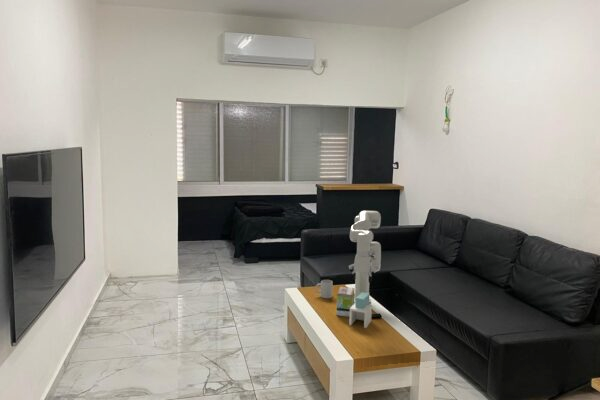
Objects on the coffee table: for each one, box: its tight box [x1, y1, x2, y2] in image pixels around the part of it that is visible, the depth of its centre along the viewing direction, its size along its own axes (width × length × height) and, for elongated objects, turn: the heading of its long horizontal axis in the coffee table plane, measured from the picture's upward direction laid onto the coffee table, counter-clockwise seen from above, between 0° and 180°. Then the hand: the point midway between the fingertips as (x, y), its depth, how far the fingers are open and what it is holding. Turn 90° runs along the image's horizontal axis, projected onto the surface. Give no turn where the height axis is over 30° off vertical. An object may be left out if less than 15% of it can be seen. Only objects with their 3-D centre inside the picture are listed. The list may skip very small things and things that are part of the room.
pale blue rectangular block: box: [355, 292, 370, 309], centre depth 283 cm, size 12×5×6 cm, turn 155°
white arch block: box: [348, 302, 373, 329], centre depth 281 cm, size 12×10×10 cm
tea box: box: [335, 286, 355, 317], centre depth 299 cm, size 15×10×15 cm
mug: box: [315, 279, 334, 299], centre depth 328 cm, size 12×8×11 cm
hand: (362, 280), depth 279 cm, fingers open, 9 cm apart
